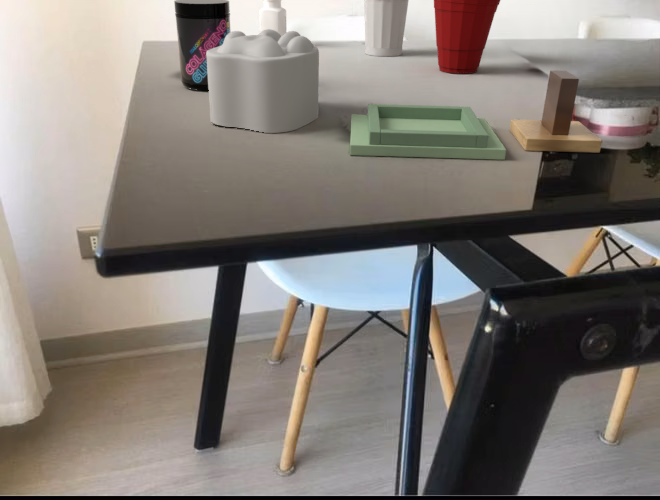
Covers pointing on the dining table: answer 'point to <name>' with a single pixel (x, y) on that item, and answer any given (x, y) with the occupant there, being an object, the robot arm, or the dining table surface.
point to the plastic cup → (462, 32)
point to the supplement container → (199, 36)
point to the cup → (384, 26)
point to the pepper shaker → (272, 17)
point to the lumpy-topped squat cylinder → (263, 81)
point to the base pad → (423, 133)
